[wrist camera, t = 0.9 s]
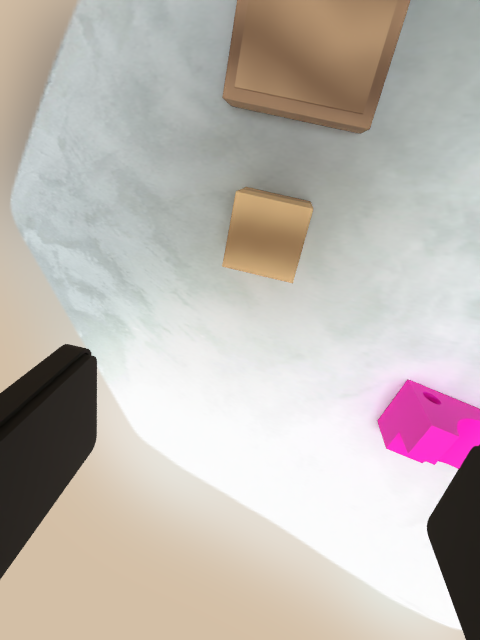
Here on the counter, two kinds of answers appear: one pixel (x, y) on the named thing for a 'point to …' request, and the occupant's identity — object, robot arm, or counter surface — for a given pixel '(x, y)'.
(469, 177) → the counter surface
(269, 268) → the oak cube
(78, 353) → the robot arm
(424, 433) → the toy block
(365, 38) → the copper tray
